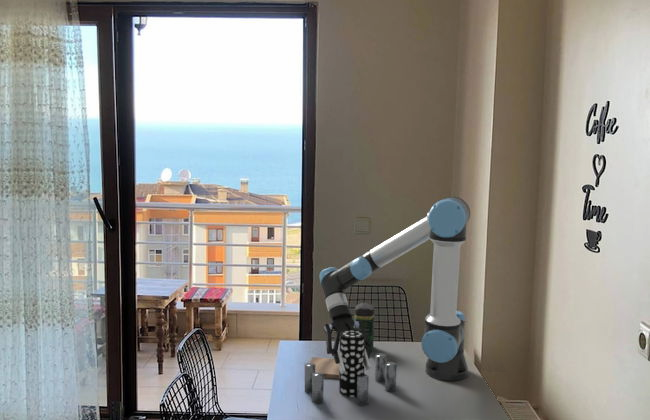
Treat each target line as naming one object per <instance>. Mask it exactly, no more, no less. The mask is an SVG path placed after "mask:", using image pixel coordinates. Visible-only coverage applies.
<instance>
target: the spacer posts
mask: <svg viewBox="0 0 650 420" xmlns="http://www.w3.org/2000/svg"><path fill="white" fill-rule="evenodd" d="M374 361H375V362H374V363H375V369H374V371H375V372H374V380H375V382H376V383H377V382H378V383H384V385H385V386H384V387H385V389H384V390H385V391H386V392H388V393H394V392H396V391H397V363H396V362H393V361H388V362H386V361H387V355H386V354H385V353H381V352H379V353H376V354H375V360H374ZM369 379H370V377H369V375H368V374H365V373H364V374H360V375H358V376H357V397H356V405H357V406H359V407H367V406H369ZM324 380H325V378H324V374H323V373H321V372H315V364H314V363H310V362H306V363H305V364H304V392H305V393H307V394H311V402H312V403H313V404H315V405H320V404H323V403H324V385H325V383H324Z"/></svg>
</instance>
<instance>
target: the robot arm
mask: <svg viewBox="0 0 650 420" xmlns="http://www.w3.org/2000/svg"><path fill="white" fill-rule="evenodd" d="M470 218H471V209H470V207H469V205H468V203H467V202H466V200H464V199H463V198H460V197H459V196H448V197H445V198H443V199H440V200H438V201H437V202H435V203H434V204H433V205H432V206H431V208H430V210H429V211H428V212H427V215H426V216H425V217H423V218H421V219H420V220H418V221H416V222H414V223H413V224H411V225H409V226H408V227H407V228H405V229H403V230H401V231H400V232H399V233H398V232H397V233H396V234H394V235H393V236H392V237H390V238H388V239H386V240H385V241H383V242H382V243H380V244H378V245H377V246H374V247H373V248H372V249H370V250H368V251H367V252H365V253H362V254H361V255H359V256H358V257H356V258H355V259H353V260H351V261H350V262H348V263H346V264H345V265H344V266H341V267H340V268H339V269H338V268H336V267H333V266H331V267H328V268H324V269H322V270H321V271H320V272H319V282H320V284H319V285H320V286H321V289H322V293H323V296H324V299H325V304H326V308H327V312H328V315H329V319H330V324H329V323H326V324H325V325H324V327H323V331H324V333H325V341H326V342H325V344H326V353H327V354H328V355H332V357H333V359H334V360H335V363H336V364H338V365H339V369H340V373H341V374H343V373H344V372H345V367H344V364H343V360H342V356H341V353H340V351H339V347H340V332H341V331H344V330H355V328H354V325H355V326H356V328H358V330H360V331H362V332H364V333H365V365H364V369H365V371H369V370H370V368H371V367H372V366H371V363H370V359H371V355H370V352H369V351H368V349H370V347H371V346H372V343H371V341H370V339H369V337H368V335H367V333H366V331H365V329H364V327H363V323H362V321H361V320H359V321H355V319H353V317H352V315H353V314H352V313H351V309H350V306H349V303H348V299H347V296H346V291H345V290H347V289H350V287H352V286H354V285H356V284H358V283H359V282H361V281H363V280H365V279H367V278H368V277H370V276H371V275H372V273H374V272H376V271H377V270H379V269H380V268H382V267H384V266H386V265H388V264H389V263H391V262H393V261H395V260H396V259H398V258H399V257H401V256H403V255H405V254H407V253H408V252H410V251H411V250H414V249H415V248H417V247H419V246H420V245H422V244H424V243H426V242H427V241H429V240H430V241H431V243H433V256H432V271H431V272H432V274H431V275H432V276H431V288H430V289H431V291H430V292H431V293H430V307H429V308H430V309H429V313H428V314H427V315H426V316H425V318H424V334H423V335H422V337H421V338H422V339H421V349H422V350H421V351H422V352H423V353H424V355H425V357H427V360H426V362H425V368H424V369H425V370H424V371H425V374H426V375H428V376H430V377H431V378H433V379H436V380H439V381H440V380H441V381H446V382H456V381H461V380H464V379H466V378H467V377H468V376H469V366H468V364H467V360H466V357H465V353H464V352H465V332H466V331H465V325H466V321H467V320H466V315H465V314H464V313H463V312H462V311H460V310H457V309H458V308H457V306H458V293H459V292H458V291H459V279H460V277H459V276H460V261H461V246H462V245H463V244H464V243H465V242H466V240H467V239H466V238H467V225H468V223H469V221H470ZM332 330H333V331H335V336H334V341H333V342H334V343H332Z"/></svg>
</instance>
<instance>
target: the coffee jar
mask: <svg viewBox="0 0 650 420" xmlns="http://www.w3.org/2000/svg"><path fill="white" fill-rule="evenodd" d="M359 320H361V321H362V323H363V327H364V329H365V331H366V333H367V335H368V337H369V339H370V341H371V343H372V346H371V347H370V349H368V351H369V353H372V351H373V349H374V334H375V307H374V305H372V304H371V303H370V302H360V303H358V304H357V305H356V306H355V307H354V321H359ZM353 327H354V328H355V330H358V328H356V326H355V325H354V326H353Z"/></svg>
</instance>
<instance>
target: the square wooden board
mask: <svg viewBox="0 0 650 420" xmlns="http://www.w3.org/2000/svg"><path fill="white" fill-rule="evenodd" d="M309 363H314V364H315V372H321V373H323V374H324V379H335V380H339V365H338V364H336V363H335V360H334V358H329V357H327V358H326V357H316V356H315V357H314V356H313V357H311V359H310V361H309Z"/></svg>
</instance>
